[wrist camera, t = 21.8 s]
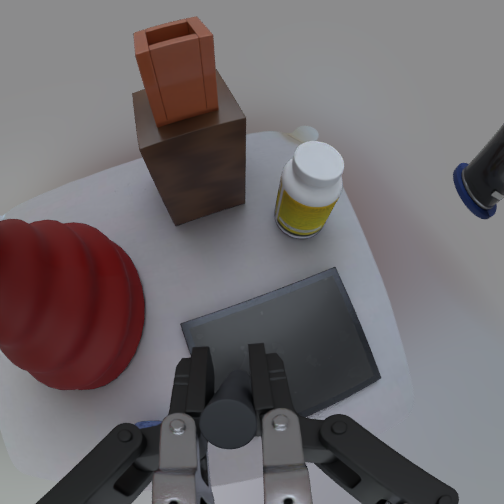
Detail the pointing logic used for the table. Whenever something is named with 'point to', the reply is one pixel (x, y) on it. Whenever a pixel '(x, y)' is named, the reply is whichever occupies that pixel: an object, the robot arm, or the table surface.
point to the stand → (195, 157)
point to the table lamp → (67, 303)
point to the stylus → (230, 413)
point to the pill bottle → (308, 189)
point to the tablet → (294, 340)
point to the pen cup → (177, 69)
